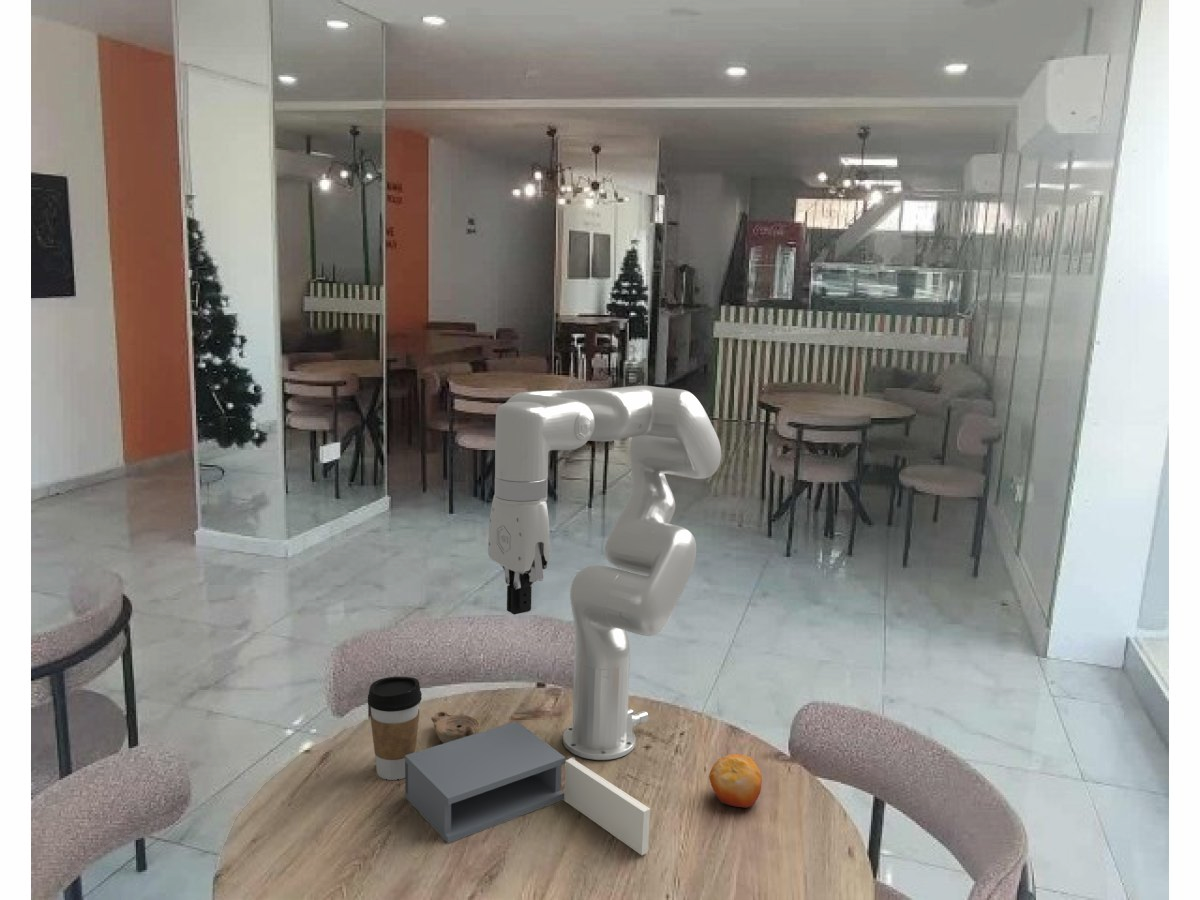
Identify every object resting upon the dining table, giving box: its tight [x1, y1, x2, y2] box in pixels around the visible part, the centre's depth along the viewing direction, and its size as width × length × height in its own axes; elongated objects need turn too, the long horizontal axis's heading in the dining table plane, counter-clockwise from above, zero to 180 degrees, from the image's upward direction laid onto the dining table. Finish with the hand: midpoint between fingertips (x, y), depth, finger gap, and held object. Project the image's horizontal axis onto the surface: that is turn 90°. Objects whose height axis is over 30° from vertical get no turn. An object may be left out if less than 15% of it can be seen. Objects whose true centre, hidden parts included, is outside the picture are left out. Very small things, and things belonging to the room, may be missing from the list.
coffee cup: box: [367, 676, 423, 781], centre depth 144 cm, size 8×8×15 cm
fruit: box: [708, 753, 763, 809], centre depth 141 cm, size 8×8×8 cm
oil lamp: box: [430, 710, 481, 744], centre depth 155 cm, size 13×8×5 cm, turn 36°
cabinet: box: [404, 720, 566, 844], centre depth 138 cm, size 20×14×7 cm
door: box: [564, 756, 651, 856], centre depth 132 cm, size 18×2×7 cm, turn 41°
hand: (518, 610), depth 132 cm, fingers closed
